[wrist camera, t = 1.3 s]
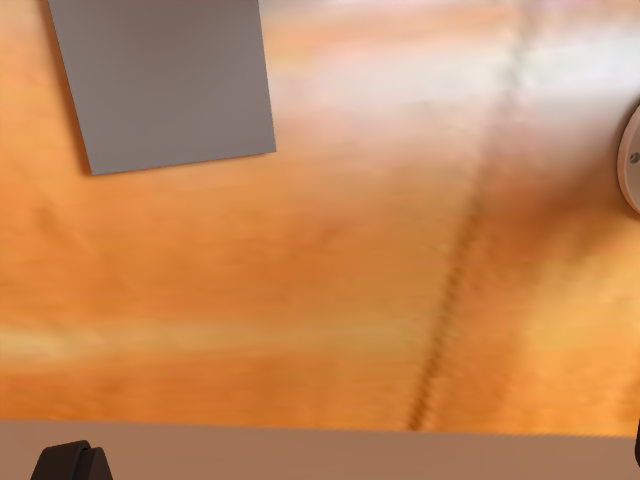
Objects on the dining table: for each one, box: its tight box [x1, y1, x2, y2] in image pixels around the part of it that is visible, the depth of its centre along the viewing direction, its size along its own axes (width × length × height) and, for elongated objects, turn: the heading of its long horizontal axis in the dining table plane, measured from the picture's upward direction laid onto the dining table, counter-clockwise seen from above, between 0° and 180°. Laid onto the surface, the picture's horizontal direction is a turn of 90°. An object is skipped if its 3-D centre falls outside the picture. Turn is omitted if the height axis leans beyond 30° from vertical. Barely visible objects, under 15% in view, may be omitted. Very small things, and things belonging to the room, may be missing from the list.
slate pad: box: [48, 0, 276, 175], centre depth 34 cm, size 12×12×1 cm
